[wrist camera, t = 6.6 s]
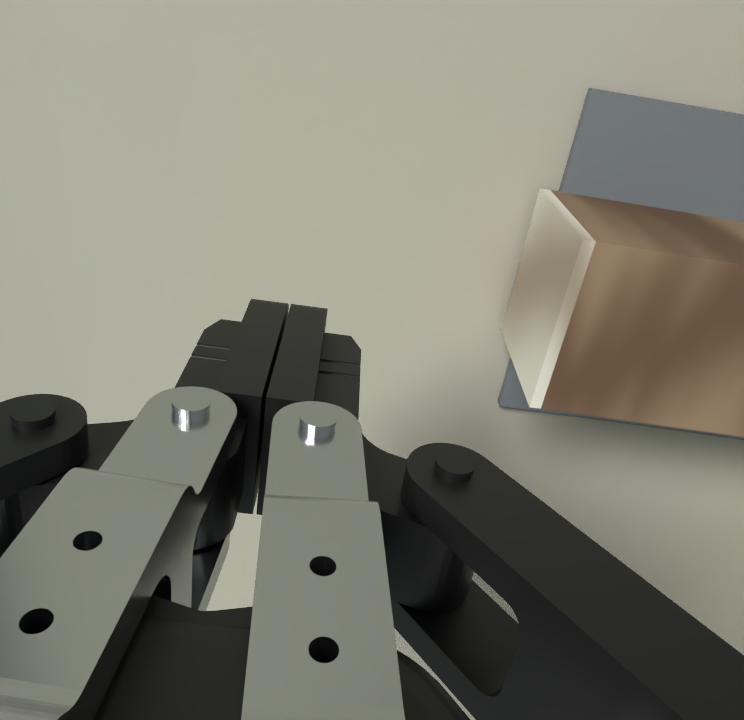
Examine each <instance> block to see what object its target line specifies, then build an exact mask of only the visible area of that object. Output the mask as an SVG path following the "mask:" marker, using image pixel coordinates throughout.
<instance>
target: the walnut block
mask: <svg viewBox="0 0 744 720" xmlns="http://www.w3.org/2000/svg"><path fill="white" fill-rule="evenodd" d="M501 332H502V335H503V338H504V340H505V343H506V346H507V348H508V351H509V354H510V356H511V359H512V362H513V364H514V367H515V370H516V373H517V375H518V378H519V381H520V383H521V386H522V389H523V391H524V394H525V397H526V400H527V402H528V405H529V407H531V408H539V409H546V410H553V411H560V412H567V413H574V414H582V415H589V416H596V417H603V418H610V419H617V420H625V421H632V422H639V423H646V424H653V425H660V426H668V427H675V428H682V429H689V430H696V431H703V432H711V433H718V434H725V435H732V436H739V437H744V222H742V221H736V220H730V219H724V218H718V217H712V216H705V215H699V214H693V213H687V212H681V211H675V210H669V209H663V208H657V207H650V206H644V205H638V204H632V203H626V202H620V201H614V200H608V199H601V198H595V197H589V196H583V195H577V194H571V193H565V192H559V191H553V190H546V189H540V191H539V194H538V198H537V201H536V205H535V208H534V212H533V216H532V219H531V223H530V226H529V230H528V234H527V237H526V241H525V244H524V248H523V252H522V255H521V259H520V262H519V266H518V270H517V273H516V277H515V280H514V284H513V288H512V291H511V295H510V298H509V302H508V306H507V309H506V313H505V316H504V320H503V324H502V327H501Z"/></svg>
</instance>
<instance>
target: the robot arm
mask: <svg viewBox="0 0 744 720" xmlns="http://www.w3.org/2000/svg"><path fill="white" fill-rule="evenodd" d="M288 309H289V305H288V304H287V303H279V302H271V301H264V300H256V299H251V300H250V303H249V305H248V308H247V310H246V313H245V315H244V318H243V320H242V322H238V321H230V320H222V319H221V320H219V321H218V322H216V323H214V324H213V325H211V326H209V327H208V328H206V329H205V330H204V331H203V333H202V335H201V337H200V339H199V341H198V343H197V346H196V347H195V349H194V351H193V353H192V356H191V357H190V359H189V361H188V363H187V365H186V367H185V369H184V371H183V373H182V375H181V376H180V378H179V380H178V382H177V384H176V386H175V388H172V389H168V390H165V391H163V392H160V393H158V394H156V395H155V396H153V397H152V398H151V399H149V401H148V402H147V403H146V404H145V406H144V407H143V408H142V410H141V411H140V413H139V414H138V415H137V417H136V418H135V419H134V420H129V421H123V422H112V423H99V424H87V414H86V411H85V409H84V408H83V406H82V405H80V404H79V403H78V402H76V401H75V400H72V399H70V398H67V397H63V396H59V395H52V394H34V395H25V396H20V397H16V398H13V399H9V400H6V401H3V402H0V720H470V719H469V718H468V717H467V715H466V714H465V713H464V712H463V711H462V709H461V708H460V707H459V706H458V704H457V703H456V702H455V701H454V700H453V698H452V697H451V696H450V695H449V694H448V692H447V691H446V690H445V689H444V688H443V687H442V686H441V684H440V683H439V682H438V681H437V680H436V679H435V678H433V677H432V676H431V675H430V674H429V673H428V672H427V671H426V670H425V669H424V668H422V667H421V666H420V665H418V664H417V663H416V662H414V661H413V660H412V659H411V658H409V657H407V656H406V655H404V654H402V653H401V652H399V651H397V649H396V640H395V632H394V628H395V629H396V630H397V631H398V632H399V633H400V634H401V635H402V637H403V638H404V639H405V640H406V641H407V642H408V643H409V645H410V646H411V647H412V648H413V649H414V650H415V651H416V652H417V654H418V655H419V656H420V657H421V658H422V659H423V660H424V662H425V663H426V664H427V665H428V666H429V667H430V668H431V669H432V671H433V672H434V673H435V674H436V675H437V676H438V677H439V678H440V680H441V681H442V682H443V683H444V684H445V685H446V686H447V688H448V689H449V690H450V691H451V692H452V693H453V694H454V695H455V697H456V698H457V699H458V700H459V701H460V702H461V703H462V704H463V706H464V707H465V708H466V709H467V710H468V711H469V712H470V714H471V715H472V716H473V717H474V718H475V719H476V720H744V655H742V654H741V653H740V652H738V651H737V650H736V649H734V648H733V647H732V646H731V645H729V644H728V643H727V642H725V641H724V640H723V639H721V638H720V637H719V636H717V635H716V634H715V633H714V632H712V631H711V630H710V629H708V628H707V627H706V626H704V625H703V624H702V623H700V622H699V621H698V620H697V619H695V618H694V617H693V616H691V615H690V614H689V613H687V612H686V611H685V610H683V609H682V608H681V607H680V606H678V605H677V604H676V603H674V602H673V601H672V600H670V599H669V598H668V597H666V596H665V595H664V594H663V593H661V592H660V591H659V590H657V589H656V588H655V587H653V586H652V585H651V584H649V583H648V582H647V581H646V580H644V579H643V578H642V577H640V576H639V575H638V574H636V573H635V572H634V571H632V570H631V569H630V568H629V567H627V566H626V565H625V564H623V563H622V562H621V561H619V560H618V559H617V558H615V557H614V556H613V555H612V554H610V553H609V552H608V551H606V550H605V549H604V548H602V547H601V546H600V545H598V544H597V543H596V542H595V541H593V540H592V539H591V538H589V537H588V536H587V535H585V534H584V533H583V532H581V531H580V530H579V529H578V528H576V527H575V526H574V525H572V524H571V523H570V522H568V521H567V520H566V519H565V518H563V517H562V516H561V515H559V514H558V513H557V512H555V511H554V510H553V509H551V508H550V507H549V506H548V505H546V504H545V503H544V502H542V501H541V500H540V499H538V498H537V497H536V496H534V495H533V494H532V493H531V492H529V491H528V490H527V489H525V488H524V487H523V486H521V485H520V484H519V483H517V482H516V481H515V480H514V479H512V478H511V477H510V476H508V475H507V474H506V473H504V472H503V471H502V470H500V469H499V468H498V467H497V466H495V465H494V464H493V463H491V462H490V461H489V460H487V459H486V458H485V457H483V456H482V455H480V454H479V453H477V452H475V451H473V450H471V449H468V448H466V447H462V446H459V445H454V444H448V443H433V444H427V445H423V446H421V447H419V448H417V449H415V450H414V451H413V452H412V453H411V454H410V455H409V457H408V459H404V458H401V457H398V456H395V455H393V454H390V453H387V452H385V451H383V450H381V449H379V448H378V447H376V446H375V445H373V444H372V443H371V442H369V441H368V440H367V439H366V438H365V437H364V435H363V434H362V429H361V425H360V423H359V421H358V414H359V388H360V362H361V349H360V348H359V346H358V345H357V344H356V342H355V341H354V340H353V338H352V337H351V336H346V335H338V334H331V333H325V326H326V318H327V309H325V308H318V307H310V306H303V305H295V304H291V306H290V310H289V314H288ZM258 489H259V491H258ZM257 493H258V503H257V514H259V515H262V522H261V532H260V541H259V551H258V561H257V570H256V580H255V590H254V599H253V607H246V608H237V609H227V610H218V611H206V609H207V606H208V604H209V601H210V598H211V596H212V593H213V590H214V587H215V585H216V582H217V579H218V577H219V574H220V571H221V569H222V566H223V563H224V560H225V558H226V555H227V552H228V549H229V543H230V532H231V530H232V529H233V526H234V523H235V519H236V516H237V512H239V513H248V514H253V510H254V506H255V501H256V497H257ZM474 572H475V573H477V574H478V575H479V576H480V577H481V578H482V579H483V580H484V581H485V582H486V583H487V584H488V585H489V586H491V587H492V588H493V589H494V590H495V591H496V592H497V593H498V594H499V595H500V596H501V597H502V598H503V599H504V600H505V601H506V602H507V603H508V604H509V605H510V606H511V608H512V609H513V611H514V612H515V614H516V617H517V619H518V622H519V624H518V623H517V622H516V621H515V620H514V619H513V618H512V617H511V616H510V615H508V614H507V613H506V612H505V611H504V610H503V609H502V608H501V607H500V606H499V605H498V604H497V603H496V602H495V601H494V600H493V599H492V598H491V597H489V596H488V595H487V594H486V593H485V592H484V591H483V590H482V589H481V588H480V587H479V586H478V585H477V584H476V583H475V582H474V581H473V580H471V579H472V576H473V573H474Z"/></svg>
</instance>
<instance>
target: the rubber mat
mask: <svg viewBox="0 0 744 720" xmlns="http://www.w3.org/2000/svg"><path fill="white" fill-rule="evenodd" d="M559 192H565V193H571V194H577V195H583V196H589V197H595V198H601V199H608V200H614V201H620V202H626V203H632V204H638V205H644V206H650V207H657V208H663V209H669V210H675V211H681V212H687V213H693V214H699V215H705V216H712V217H718V218H724V219H730V220H736V221H742V222H744V115H742V114H736V113H730V112H725V111H719V110H713V109H707V108H701V107H696V106H690V105H684V104H678V103H673V102H667V101H661V100H655V99H650V98H644V97H638V96H632V95H627V94H621V93H615V92H609V91H604V90H598V89H592V88H589V89H588V93H587V96H586V99H585V103H584V106H583V110H582V113H581V117H580V120H579V124H578V127H577V130H576V134H575V137H574V141H573V144H572V148H571V151H570V155H569V158H568V161H567V165H566V168H565V172H564V175H563V179H562V182H561V185H560V189H559ZM498 403H499V406H503V407H511V408H518V409H525V410H532V411H540V412H547V413H554V414H561V415H569V416H576V417H583V418H590V419H598V420H605V421H612V422H619V423H627V424H634V425H641V426H648V427H656V428H663V429H670V430H677V431H685V432H692V433H699V434H706V435H714V436H721V437H728V438H735V439H743V440H744V437H739V436H732V435H725V434H718V433H711V432H703V431H696V430H689V429H682V428H675V427H668V426H660V425H653V424H646V423H639V422H632V421H625V420H617V419H610V418H603V417H596V416H589V415H582V414H574V413H567V412H560V411H553V410H546V409H539V408H531V407H529V405H528V402H527V400H526V397H525V394H524V391H523V389H522V386H521V383H520V381H519V378H518V375H517V373H516V370H515V367H514V364H513V362H512V359H511V358H510V361H509V365H508V368H507V371H506V375H505V378H504V382H503V385H502V389H501V392H500V396H499V399H498Z"/></svg>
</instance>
